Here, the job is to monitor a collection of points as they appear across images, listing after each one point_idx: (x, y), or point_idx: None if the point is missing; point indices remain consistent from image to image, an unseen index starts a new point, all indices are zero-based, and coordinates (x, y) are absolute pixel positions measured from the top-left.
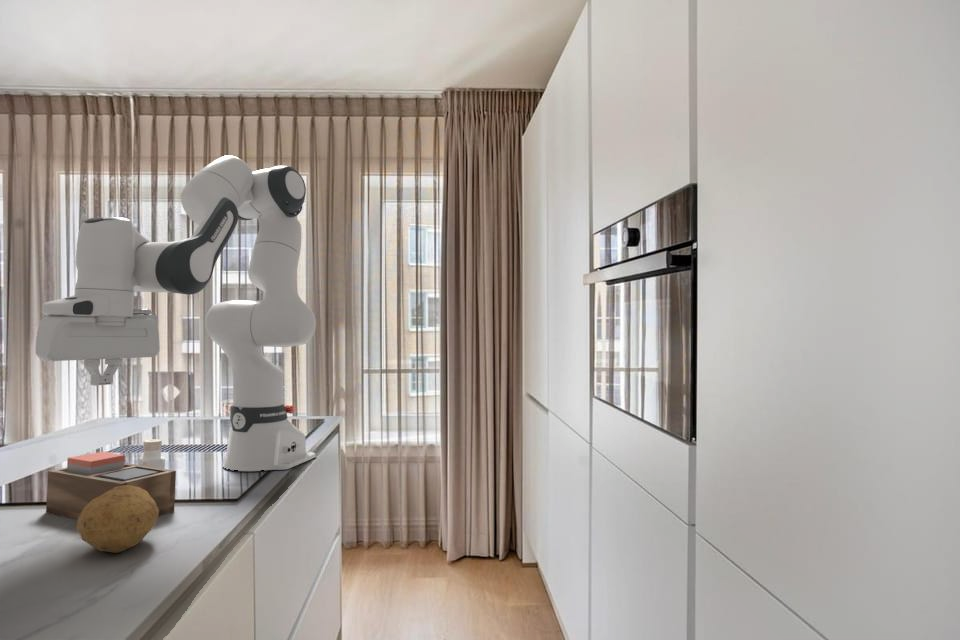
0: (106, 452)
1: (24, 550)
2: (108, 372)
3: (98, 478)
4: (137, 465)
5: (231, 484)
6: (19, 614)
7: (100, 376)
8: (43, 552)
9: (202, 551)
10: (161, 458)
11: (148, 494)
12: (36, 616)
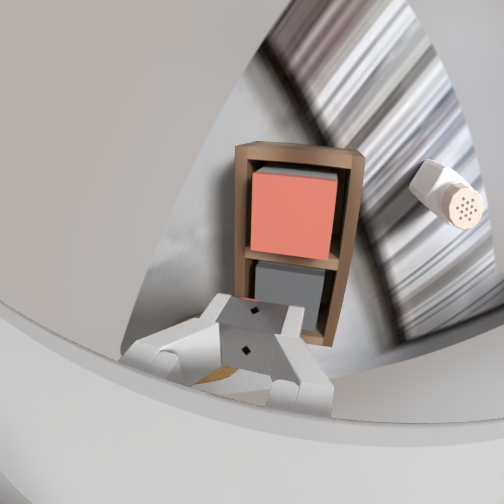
0: (334, 200)
1: (165, 258)
2: (275, 370)
3: (239, 280)
4: (345, 265)
5: (476, 287)
6: (125, 346)
7: (221, 359)
8: (171, 280)
9: (241, 390)
10: (449, 223)
11: (227, 372)
12: None
